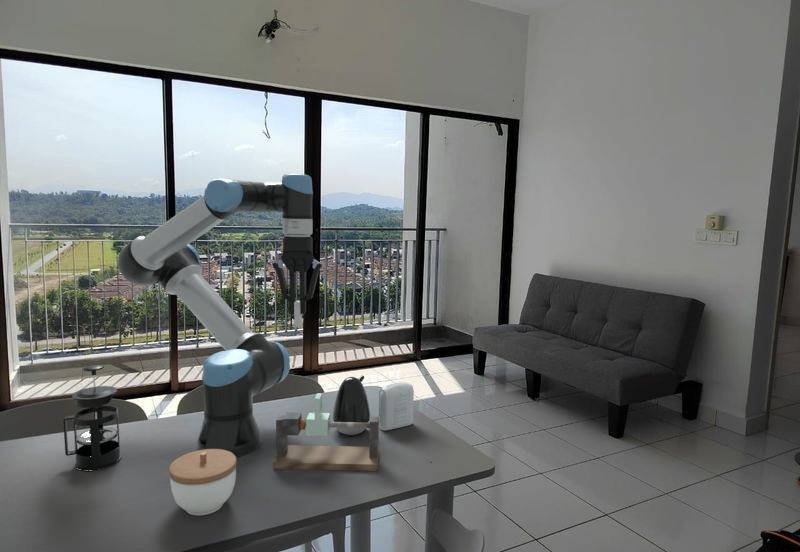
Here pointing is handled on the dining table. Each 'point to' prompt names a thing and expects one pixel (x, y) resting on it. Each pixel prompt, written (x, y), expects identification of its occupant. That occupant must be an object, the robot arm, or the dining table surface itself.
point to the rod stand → (324, 447)
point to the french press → (94, 427)
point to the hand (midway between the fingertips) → (298, 325)
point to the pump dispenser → (351, 405)
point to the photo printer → (396, 406)
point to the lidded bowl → (203, 480)
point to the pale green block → (318, 420)
